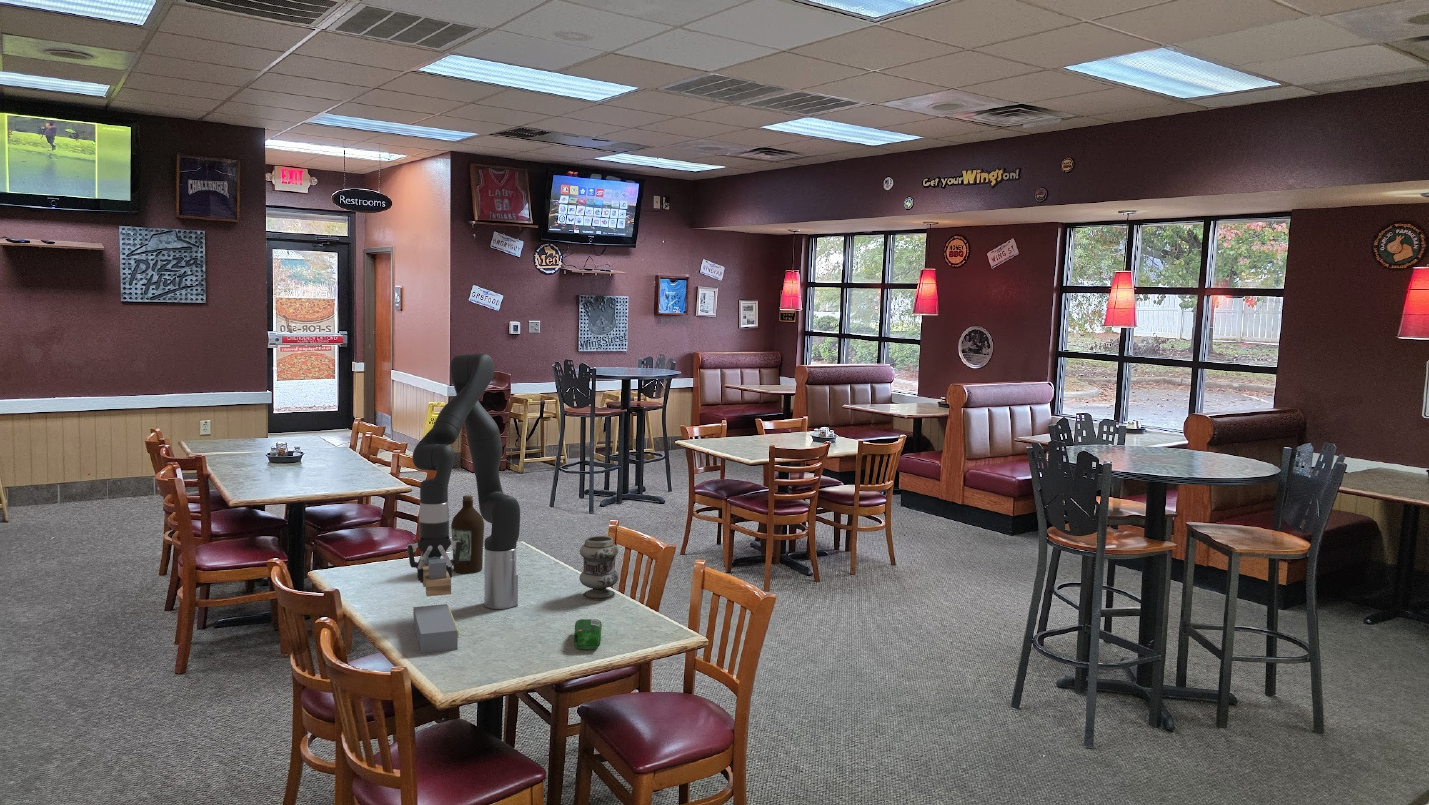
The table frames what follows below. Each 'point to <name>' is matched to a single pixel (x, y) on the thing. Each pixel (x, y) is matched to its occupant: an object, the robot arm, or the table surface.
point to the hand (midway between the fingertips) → (434, 580)
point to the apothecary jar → (599, 567)
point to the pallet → (436, 583)
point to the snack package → (587, 633)
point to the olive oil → (468, 537)
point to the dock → (435, 628)
